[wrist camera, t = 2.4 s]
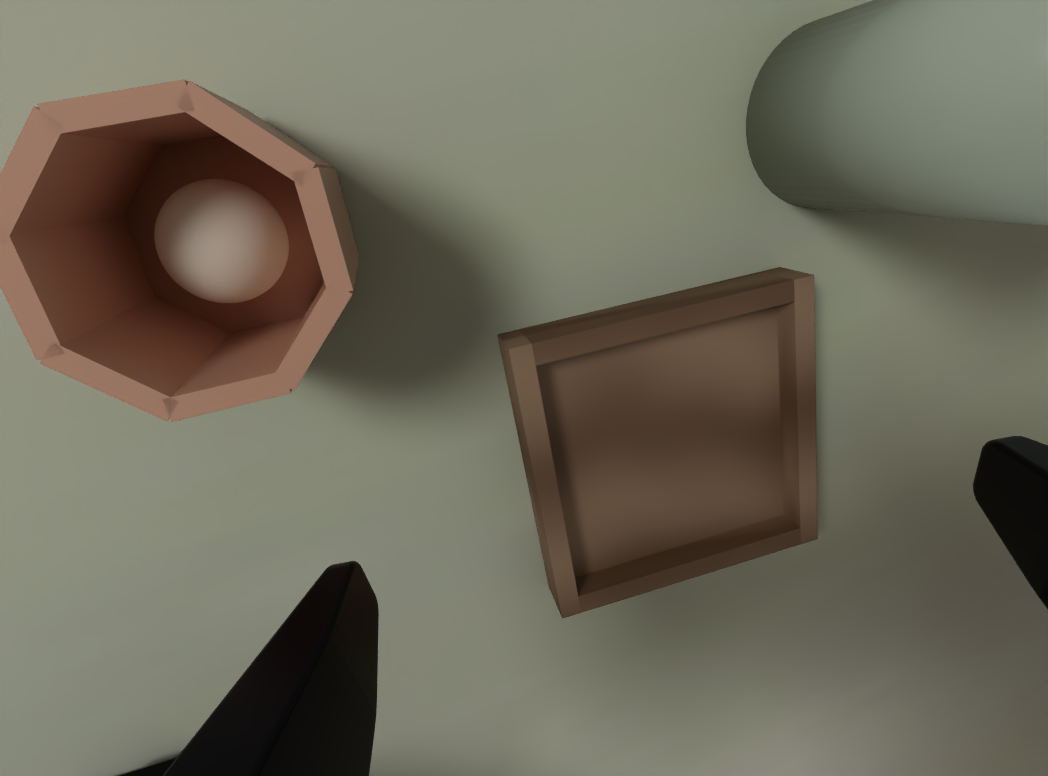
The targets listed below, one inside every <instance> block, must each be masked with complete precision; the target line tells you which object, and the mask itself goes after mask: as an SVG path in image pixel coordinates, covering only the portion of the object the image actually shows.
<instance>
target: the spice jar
mask: <svg viewBox="0 0 1048 776" xmlns="http://www.w3.org/2000/svg"><path fill="white" fill-rule="evenodd" d="M746 136H747V145H748V150H749V154H750V158H751V160H752V163H753V166H754V168H755V170H756V172H757V174H758V176H759V177H760V179H761V180H762V182H763V183H764V184H765V186H766V187H767V188H768V189H769V190H770V191H771V192H772V193H774V194H775V195H776V196H778V197H779V198H780V199H782V200H784V201H786V202H788V203H791V204H794V205H797V206H802V207H811V208H824V209H837V210H850V211H863V212H876V213H889V214H902V215H915V216H928V217H941V218H954V219H967V220H980V221H993V222H1006V223H1019V224H1032V225H1045V226H1048V0H873V1H870V2H867V3H864V4H861V5H858V6H856V7H853V8H850V9H847V10H844V11H841V12H838V13H835V14H833V15H830V16H827V17H824V18H821V19H818V20H815V21H813V22H810V23H808V24H806V25H803V26H802V27H800V28H799V29H797V30H795V31H794V32H792V33H791V34H790V35H789V36H787V37H786V38H785V39H784V40H783V41H782V42H781V43H780V44H779V45H778V46H777V47H776V48H775V49H774V50H773V52H772V53H771V54H770V56H769V57H768V58H767V60H766V62H765V63H764V65H763V66H762V68H761V70H760V72H759V74H758V76H757V78H756V81H755V83H754V86H753V89H752V92H751V95H750V99H749V104H748V109H747V118H746Z"/></svg>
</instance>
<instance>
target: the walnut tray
mask: <svg viewBox="0 0 1048 776" xmlns="http://www.w3.org/2000/svg"><path fill="white" fill-rule="evenodd" d="M498 340H499V344H500V349H501V354H502V359H503V364H504V369H505V374H506V379H507V384H508V388H509V393H510V398H511V403H512V408H513V413H514V418H515V423H516V428H517V433H518V437H519V442H520V447H521V452H522V457H523V462H524V467H525V472H526V477H527V482H528V486H529V491H530V496H531V501H532V506H533V511H534V516H535V521H536V526H537V531H538V535H539V540H540V545H541V550H542V555H543V560H544V565H545V570H546V575H547V580H548V584H549V588H550V591H551V593H552V595H553V598H554V600H555V602H556V605H557V607H558V610H559V612H560V614H561V617H562V618H565V617H569V616H572V615H575V614H578V613H581V612H585V611H588V610H591V609H594V608H597V607H601V606H604V605H607V604H610V603H613V602H617V601H620V600H623V599H626V598H630V597H633V596H636V595H639V594H642V593H646V592H649V591H652V590H655V589H658V588H662V587H665V586H668V585H671V584H674V583H678V582H681V581H684V580H687V579H690V578H694V577H697V576H700V575H703V574H706V573H710V572H713V571H716V570H719V569H722V568H726V567H729V566H732V565H735V564H738V563H742V562H745V561H748V560H751V559H755V558H758V557H761V556H764V555H767V554H771V553H774V552H777V551H780V550H783V549H787V548H790V547H793V546H796V545H799V544H803V543H806V542H809V541H812V540H815V539H818V528H817V454H816V380H815V307H814V275H812V274H808V273H803V272H799V271H794V270H790V269H786V268H781V267H779V268H774V269H770V270H766V271H762V272H758V273H753V274H749V275H745V276H741V277H737V278H732V279H728V280H724V281H720V282H716V283H712V284H707V285H703V286H699V287H695V288H691V289H686V290H682V291H678V292H674V293H670V294H665V295H661V296H657V297H653V298H649V299H645V300H640V301H636V302H632V303H628V304H624V305H619V306H615V307H611V308H607V309H603V310H598V311H594V312H590V313H586V314H582V315H578V316H573V317H569V318H565V319H561V320H557V321H552V322H548V323H544V324H540V325H536V326H531V327H527V328H523V329H519V330H515V331H511V332H506V333H502V334H498Z"/></svg>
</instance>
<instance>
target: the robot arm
mask: <svg viewBox="0 0 1048 776" xmlns="http://www.w3.org/2000/svg"><path fill="white" fill-rule="evenodd" d="M973 491H974V495H975V498H976V500H977V502H978V504H979V505H980V507H981V509H982V510H983V512H984V513H985V515H986V516H987V518H988V519H989V521H990V523H991V524H992V526H993V527H994V529H995V530H996V532H997V534H998V535H999V537H1000V538H1001V540H1002V541H1003V543H1004V545H1005V546H1006V548H1007V549H1008V551H1009V552H1010V554H1011V556H1012V557H1013V559H1014V560H1015V562H1016V563H1017V565H1018V567H1019V568H1020V570H1021V571H1022V573H1023V574H1024V576H1025V578H1026V579H1027V581H1028V582H1029V584H1030V585H1031V587H1032V588H1033V589H1034V591H1035V592H1036V594H1037V595H1038V597H1039V598H1040V599H1041V601H1042V602H1043V603H1044V605H1045V606H1046V607H1047V609H1048V445H1045V444H1042V443H1040V442H1037V441H1034V440H1031V439H1029V438H1026V437H1022V436H1011V437H1006V438H1001V439H995V440H991V441H989V442H987V443H986V444H985V445H984V446H983V448H982V451H981V455H980V459H979V463H978V467H977V471H976V475H975V478H974V483H973ZM377 668H378V603H377V599H376V596H375V594H374V592H373V589H372V587H371V585H370V583H369V581H368V579H367V577H366V575H365V573H364V571H363V569H362V567H361V566H360V564H359V563H358V562H356V561H350V562H345V563H339V564H334V565H331V566H329V567H328V568H327V569H326V570H325V571H324V572H323V573H322V575H321V576H320V577H319V578H318V580H317V581H316V582H315V584H314V585H313V586H312V587H311V589H310V590H309V591H308V592H307V594H306V595H305V596H304V597H303V599H302V600H301V601H300V603H299V604H298V605H297V606H296V608H295V609H294V610H293V611H292V613H291V614H290V615H289V616H288V618H287V619H286V620H285V622H284V623H283V624H282V625H281V627H280V628H279V629H278V630H277V632H276V633H275V634H274V635H273V637H272V638H271V639H270V641H269V642H268V643H267V644H266V646H265V647H264V648H263V649H262V651H261V652H260V653H259V655H258V656H257V657H256V658H255V660H254V661H253V662H252V663H251V665H250V666H249V667H248V668H247V670H246V671H245V672H244V674H243V675H242V676H241V677H240V679H239V680H238V681H237V682H236V684H235V685H234V686H233V687H232V689H231V690H230V691H229V693H228V694H227V695H226V696H225V698H224V699H223V700H222V701H221V703H220V704H219V705H218V706H217V708H216V709H215V710H214V712H213V713H212V714H211V715H210V717H209V718H208V719H207V720H206V722H205V723H204V724H203V725H202V727H201V728H200V729H199V731H198V732H197V733H196V734H195V736H194V737H193V738H192V739H191V741H190V742H189V743H188V744H187V746H186V747H185V748H184V750H183V751H182V752H181V753H180V755H179V756H178V757H177V758H176V759H173V760H170V761H167V762H164V763H161V764H157V765H154V766H151V767H148V768H145V769H142V770H138V771H135V772H132V773H129V774H126V775H123V776H369V770H370V763H371V755H372V747H373V739H374V731H375V721H376V708H377Z"/></svg>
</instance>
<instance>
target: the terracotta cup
mask: <svg viewBox="0 0 1048 776" xmlns="http://www.w3.org/2000/svg"><path fill="white" fill-rule="evenodd" d="M38 107H39V108H38ZM38 107H33V109H32V111H31V113H30V115H29V117H28V119H27V121H26V123H25V125H24V127H23V129H22V131H21V133H20V135H19V137H18V139H17V141H16V143H15V145H14V148H13V150H12V152H11V154H10V156H9V158H8V160H7V162H6V164H5V166H4V168H3V170H2V172H1V174H0V287H1V289H2V291H3V293H4V295H5V297H6V299H7V301H8V303H9V305H10V307H11V309H12V311H13V313H14V315H15V317H16V319H17V321H18V323H19V326H20V328H21V330H22V332H23V334H24V336H25V338H26V340H27V342H28V344H29V346H30V348H31V350H32V352H33V354H34V356H35V358H36V360H40V359H42V360H41V362H40V364H42V365H44V366H47V367H49V368H51V369H53V370H55V371H58V372H60V373H62V374H64V375H66V376H69V377H71V378H73V379H75V380H77V381H80V382H82V383H84V384H86V385H88V386H91V387H93V388H95V389H97V390H99V391H102V392H104V393H106V394H108V395H110V396H113V397H115V398H117V399H119V400H121V401H124V402H126V403H128V404H130V405H132V406H134V407H137V408H139V409H141V410H143V411H145V412H148V413H150V414H152V415H154V416H156V417H159V418H161V419H163V420H165V421H168V420H169V419H171V422H173V421H177V420H181V419H185V418H189V417H194V416H198V415H202V414H206V413H210V412H214V411H218V410H223V409H227V408H231V407H235V406H239V405H243V404H247V403H252V402H256V401H260V400H264V399H268V398H272V397H277V396H281V395H285V394H289V393H291V392H292V390H293V391H294V390H295V388H296V387H297V385H298V384H299V382H300V380H301V379H302V377H303V375H304V374H305V372H306V370H307V369H308V367H309V365H310V364H311V362H312V360H313V359H314V357H315V356H316V354H317V352H318V351H319V349H320V347H321V346H322V344H323V342H324V341H325V339H326V337H327V336H328V334H329V332H330V331H331V329H332V328H333V326H334V324H335V323H336V321H337V319H338V318H339V316H340V314H341V313H342V311H343V309H344V308H345V306H346V304H347V303H348V301H349V299H350V298H351V296H352V295H353V290H354V284H355V279H356V274H357V268H358V263H359V254H358V250H357V247H356V243H355V239H354V236H353V232H352V228H351V224H350V219H349V214H348V211H347V208H346V205H345V202H344V199H343V196H342V192H341V188H340V185H339V181H338V177H337V174H336V170H335V169H332V168H333V166H332V165H330V164H329V163H327V162H326V161H324V160H323V159H321V158H320V157H318V156H317V155H315V154H314V153H312V152H311V151H309V150H307V149H306V148H304V147H303V146H301V145H300V144H299V143H297V142H296V141H295V140H293V139H291V138H290V137H288V136H286V135H285V134H283V133H282V132H280V131H279V130H277V129H276V128H274V127H273V126H271V125H270V124H268V123H267V122H265V121H264V120H262V119H261V118H259V117H258V116H256V115H254V114H253V113H251V112H250V111H248V110H247V109H245V108H243V107H241V106H239V105H237V104H235V103H233V102H231V101H229V100H227V99H225V98H223V97H221V96H219V95H217V94H215V93H213V92H211V91H209V90H207V89H205V88H203V87H201V86H199V85H197V84H195V83H193V82H191V81H189V82H188V81H186V80H179V81H173V82H167V83H161V84H155V85H149V86H143V87H137V88H131V89H125V90H119V91H113V92H107V93H101V94H94V95H88V96H82V97H76V98H70V99H64V100H58V101H52V102H46V103H40V104H38ZM205 179H225V180H231V181H234V182H238V183H241V184H243V185H246V186H248V187H250V188H252V189H254V190H255V191H257V192H258V193H260V194H261V195H263V196H264V197H265V198H266V199H267V200H268V201H269V202H270V203H271V204H272V205H273V206H274V207H275V209H276V210H277V212H278V213H279V215H280V217H281V218H282V220H283V222H284V225H285V228H286V231H287V235H288V242H289V253H288V259H287V263H286V266H285V268H284V270H283V272H282V274H281V276H280V278H279V279H278V280H277V282H276V283H275V284H274V285H273V286H272V287H271V288H270V289H268V290H267V291H266V292H264V293H263V294H261V295H259V296H258V297H255V298H253V299H251V300H247V301H244V302H238V303H219V302H213V301H208V300H205V299H202V298H200V297H197V296H195V295H193V294H191V293H190V292H188V291H186V290H185V289H184V288H182V287H181V286H180V285H178V284H177V283H176V282H175V281H174V280H173V279H172V278H171V276H170V275H169V274H168V273H167V271H166V270H165V268H164V267H163V265H162V263H161V261H160V259H159V257H158V254H157V250H156V246H155V239H154V230H155V223H156V220H157V216H158V214H159V212H160V209H161V208H162V206H163V205H164V203H165V202H166V200H167V199H168V198H169V197H170V196H171V195H172V194H173V193H174V192H176V191H177V190H178V189H180V188H182V187H183V186H185V185H188V184H190V183H193V182H196V181H200V180H205Z"/></svg>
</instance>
